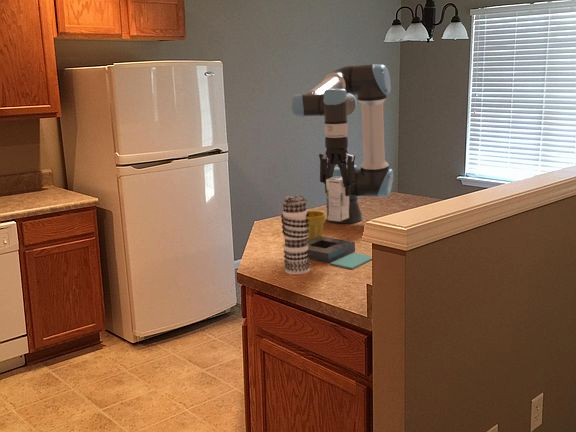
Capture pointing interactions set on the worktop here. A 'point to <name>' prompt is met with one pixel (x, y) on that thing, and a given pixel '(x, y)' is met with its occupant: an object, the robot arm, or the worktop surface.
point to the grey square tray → (329, 249)
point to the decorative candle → (295, 235)
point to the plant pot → (315, 223)
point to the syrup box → (336, 200)
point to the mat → (352, 261)
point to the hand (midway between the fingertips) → (338, 203)
